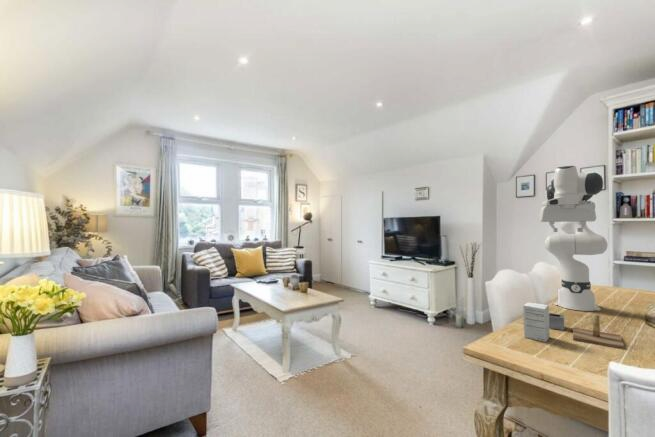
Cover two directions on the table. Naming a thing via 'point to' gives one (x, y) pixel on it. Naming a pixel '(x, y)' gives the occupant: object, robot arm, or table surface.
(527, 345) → the table surface
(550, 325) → the collar
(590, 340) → the post board
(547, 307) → the supplement box
